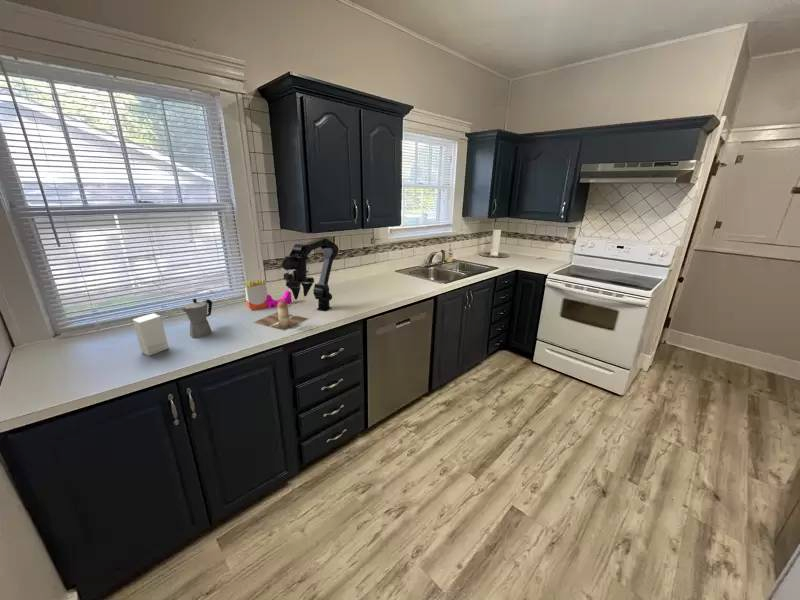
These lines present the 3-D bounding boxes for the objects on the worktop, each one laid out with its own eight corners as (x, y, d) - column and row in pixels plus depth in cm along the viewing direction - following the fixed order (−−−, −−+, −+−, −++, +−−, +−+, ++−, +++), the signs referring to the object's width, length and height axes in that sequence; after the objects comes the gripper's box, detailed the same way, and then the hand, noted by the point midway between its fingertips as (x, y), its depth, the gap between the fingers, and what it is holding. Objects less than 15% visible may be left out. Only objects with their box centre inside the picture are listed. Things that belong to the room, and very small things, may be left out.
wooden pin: (281, 324, 167) (278, 299, 163) (291, 324, 167) (288, 299, 163) (277, 328, 163) (275, 302, 158) (287, 328, 163) (285, 302, 158)
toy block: (269, 309, 190) (268, 297, 188) (265, 307, 194) (263, 295, 192) (293, 304, 200) (292, 292, 197) (289, 301, 204) (288, 290, 202)
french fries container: (247, 310, 188) (242, 280, 182) (266, 306, 195) (262, 277, 189) (250, 312, 185) (245, 282, 179) (269, 308, 192) (265, 278, 186)
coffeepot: (196, 341, 149) (189, 304, 144) (181, 338, 152) (173, 301, 146) (223, 328, 163) (217, 294, 158) (208, 326, 166) (202, 292, 160)
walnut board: (278, 313, 185) (278, 311, 184) (309, 320, 176) (309, 318, 175) (252, 324, 169) (252, 322, 169) (284, 332, 160) (284, 330, 160)
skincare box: (162, 345, 145) (154, 312, 140) (169, 348, 142) (162, 315, 137) (140, 352, 138) (131, 318, 133) (148, 356, 135) (139, 322, 130)
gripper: (296, 265, 180) (296, 293, 183) (276, 268, 162) (276, 299, 165) (314, 267, 178) (314, 295, 181) (296, 271, 160) (296, 301, 163)
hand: (300, 297), depth 173 cm, fingers open, 9 cm apart
